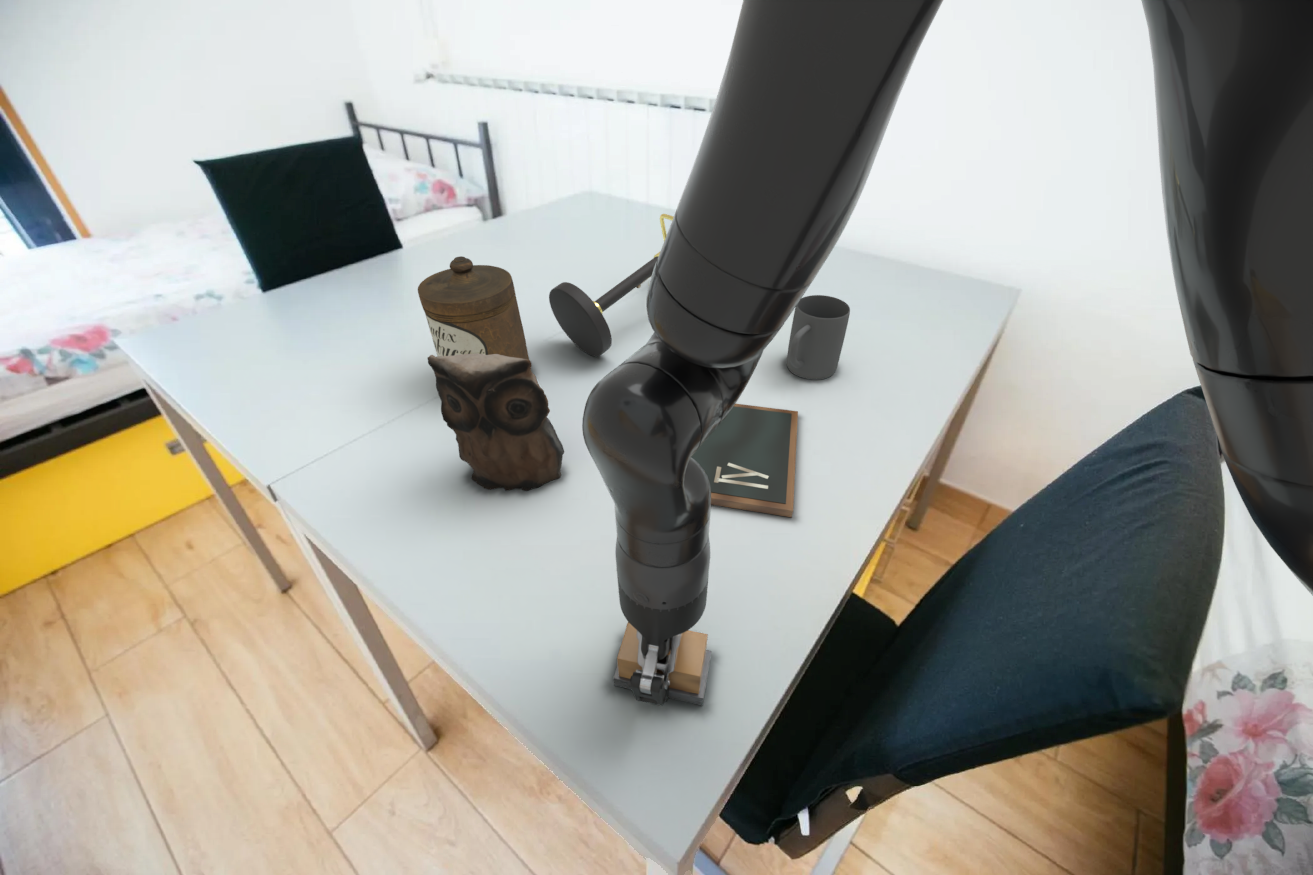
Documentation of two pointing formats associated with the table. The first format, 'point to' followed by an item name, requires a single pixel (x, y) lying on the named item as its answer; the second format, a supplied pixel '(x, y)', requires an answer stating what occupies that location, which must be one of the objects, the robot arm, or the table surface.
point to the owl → (498, 419)
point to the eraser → (687, 671)
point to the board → (752, 460)
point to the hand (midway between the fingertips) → (663, 669)
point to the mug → (817, 336)
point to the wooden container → (473, 311)
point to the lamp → (594, 307)
